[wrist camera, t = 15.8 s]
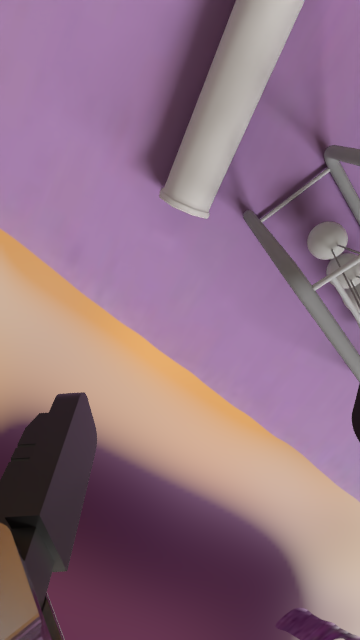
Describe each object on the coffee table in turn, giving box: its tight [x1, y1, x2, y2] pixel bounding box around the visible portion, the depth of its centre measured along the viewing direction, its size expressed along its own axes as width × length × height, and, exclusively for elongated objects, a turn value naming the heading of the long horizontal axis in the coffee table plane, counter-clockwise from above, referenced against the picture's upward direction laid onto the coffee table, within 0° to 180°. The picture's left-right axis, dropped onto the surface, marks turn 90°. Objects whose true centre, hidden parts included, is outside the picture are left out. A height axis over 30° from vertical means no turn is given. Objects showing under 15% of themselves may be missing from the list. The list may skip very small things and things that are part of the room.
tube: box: [159, 0, 305, 219], centre depth 28 cm, size 5×5×25 cm
